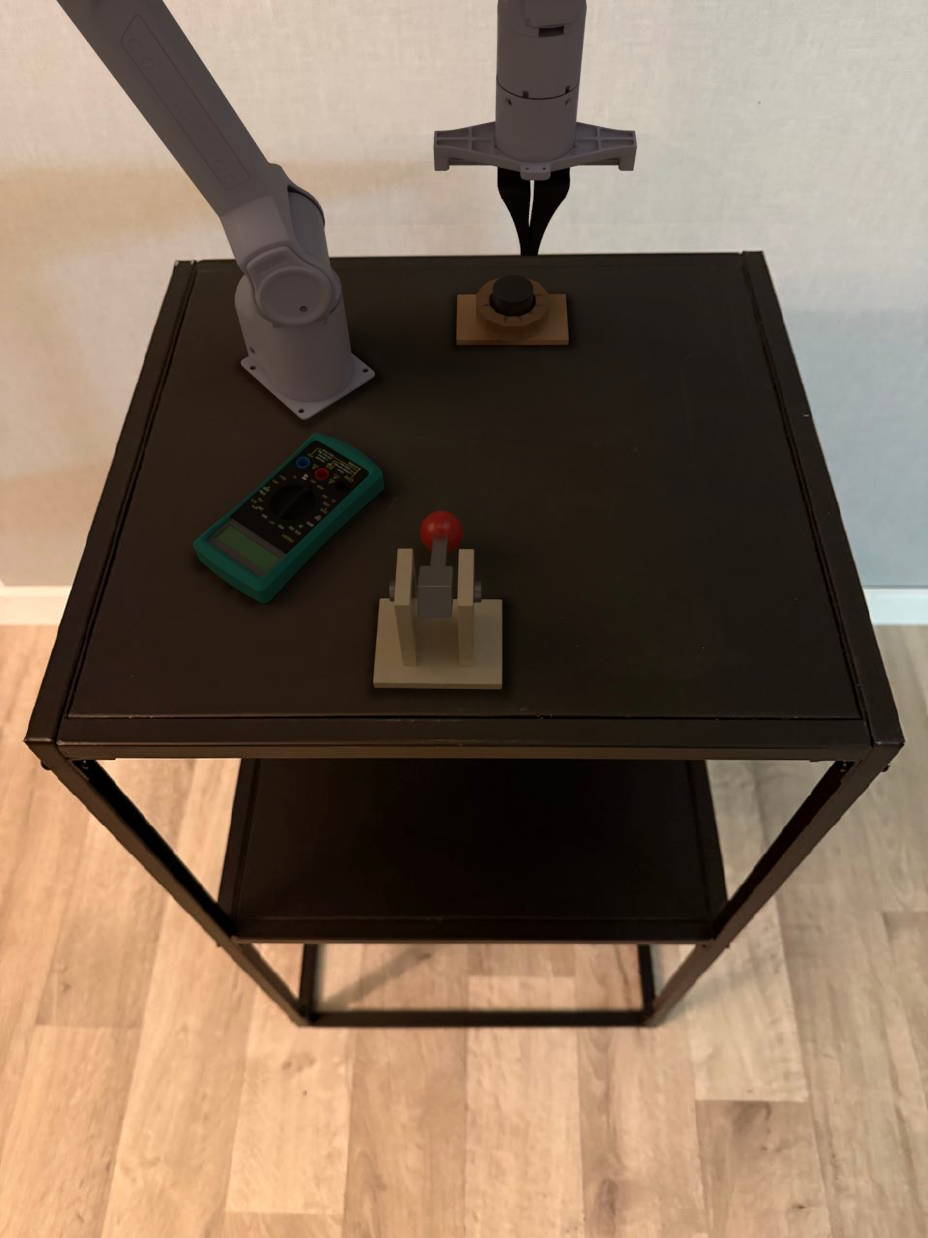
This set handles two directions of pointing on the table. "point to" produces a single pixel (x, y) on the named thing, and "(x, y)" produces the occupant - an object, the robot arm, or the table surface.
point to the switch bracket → (438, 635)
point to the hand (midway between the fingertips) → (528, 248)
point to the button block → (511, 320)
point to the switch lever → (438, 564)
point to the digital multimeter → (289, 516)
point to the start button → (512, 295)
